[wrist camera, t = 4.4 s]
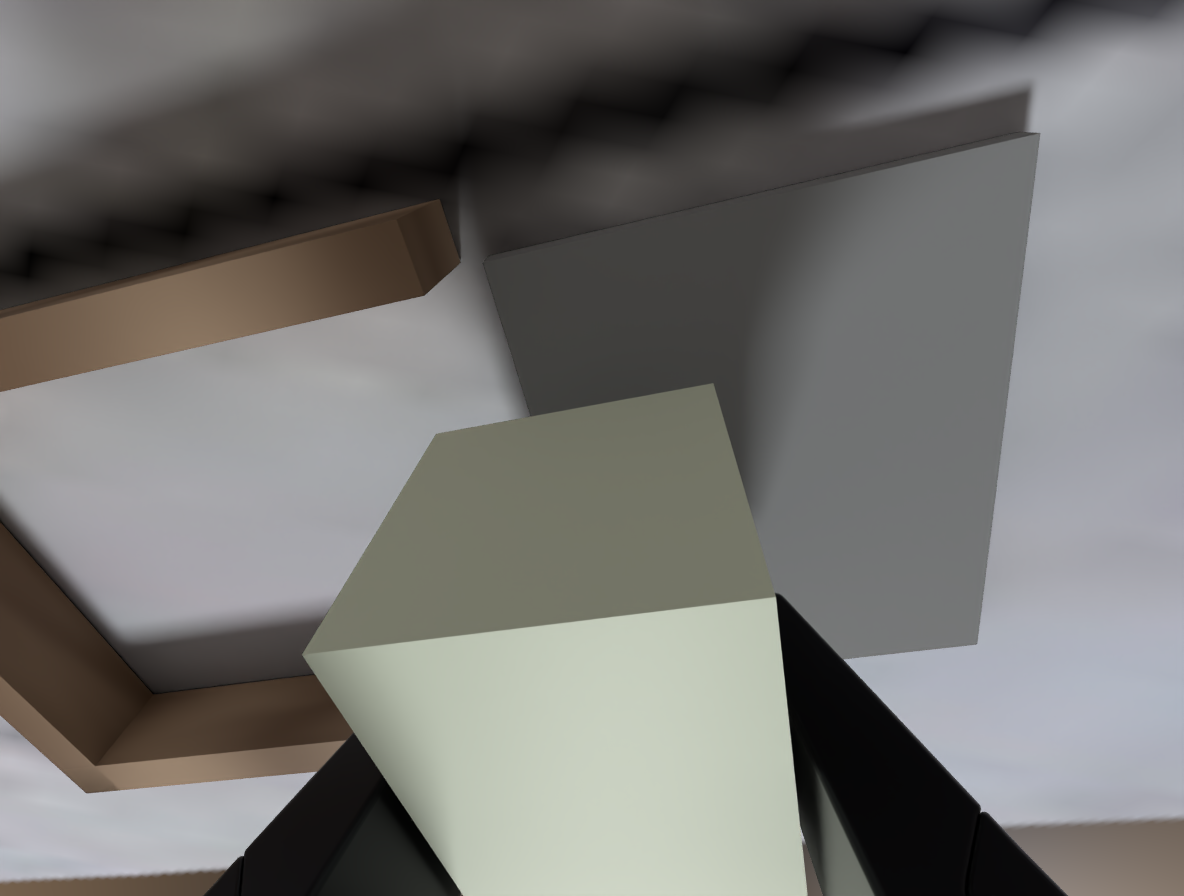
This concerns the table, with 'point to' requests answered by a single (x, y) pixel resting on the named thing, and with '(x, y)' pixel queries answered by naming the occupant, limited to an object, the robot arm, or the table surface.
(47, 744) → the frame
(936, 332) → the mat
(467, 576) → the sage block
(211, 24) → the table surface
